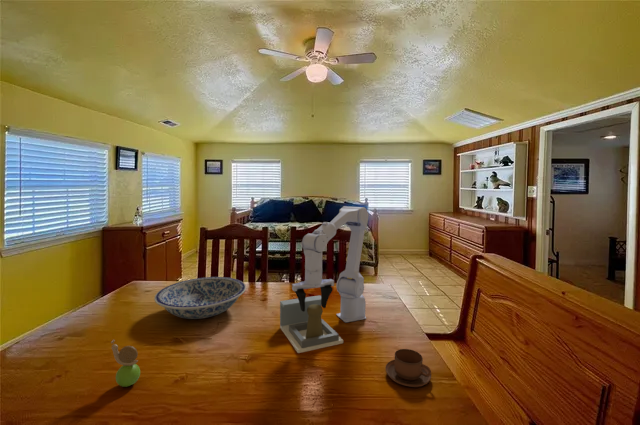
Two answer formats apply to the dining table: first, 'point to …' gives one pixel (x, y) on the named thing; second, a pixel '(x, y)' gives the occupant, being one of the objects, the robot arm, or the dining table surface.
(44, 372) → the dining table surface
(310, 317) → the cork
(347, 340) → the dining table surface
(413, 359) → the cup and saucer
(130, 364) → the snail figurine
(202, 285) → the ceramic bowl
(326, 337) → the socket block
